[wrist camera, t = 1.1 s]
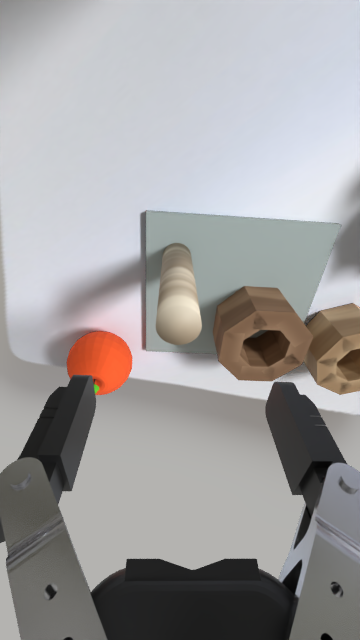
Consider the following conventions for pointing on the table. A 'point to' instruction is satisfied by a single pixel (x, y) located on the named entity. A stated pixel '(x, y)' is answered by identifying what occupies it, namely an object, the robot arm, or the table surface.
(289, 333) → the walnut bead
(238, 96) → the table surface
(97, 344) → the clementine
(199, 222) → the grey mat
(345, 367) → the oak bead
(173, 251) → the birch peg
